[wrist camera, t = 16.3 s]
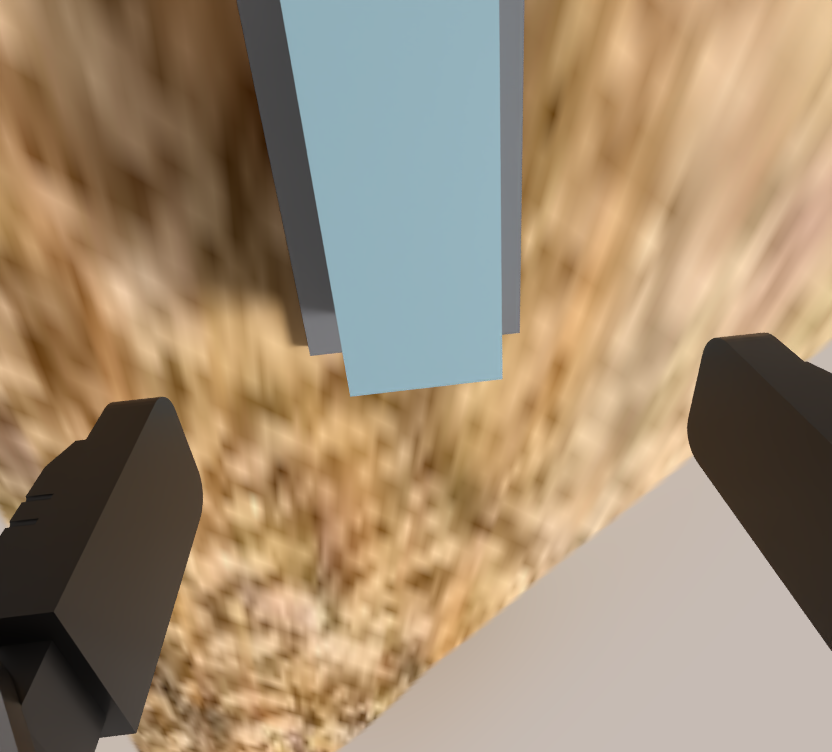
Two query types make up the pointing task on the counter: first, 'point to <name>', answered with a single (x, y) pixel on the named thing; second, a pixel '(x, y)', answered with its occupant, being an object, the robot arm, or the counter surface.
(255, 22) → the mat
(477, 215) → the block
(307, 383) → the counter surface
